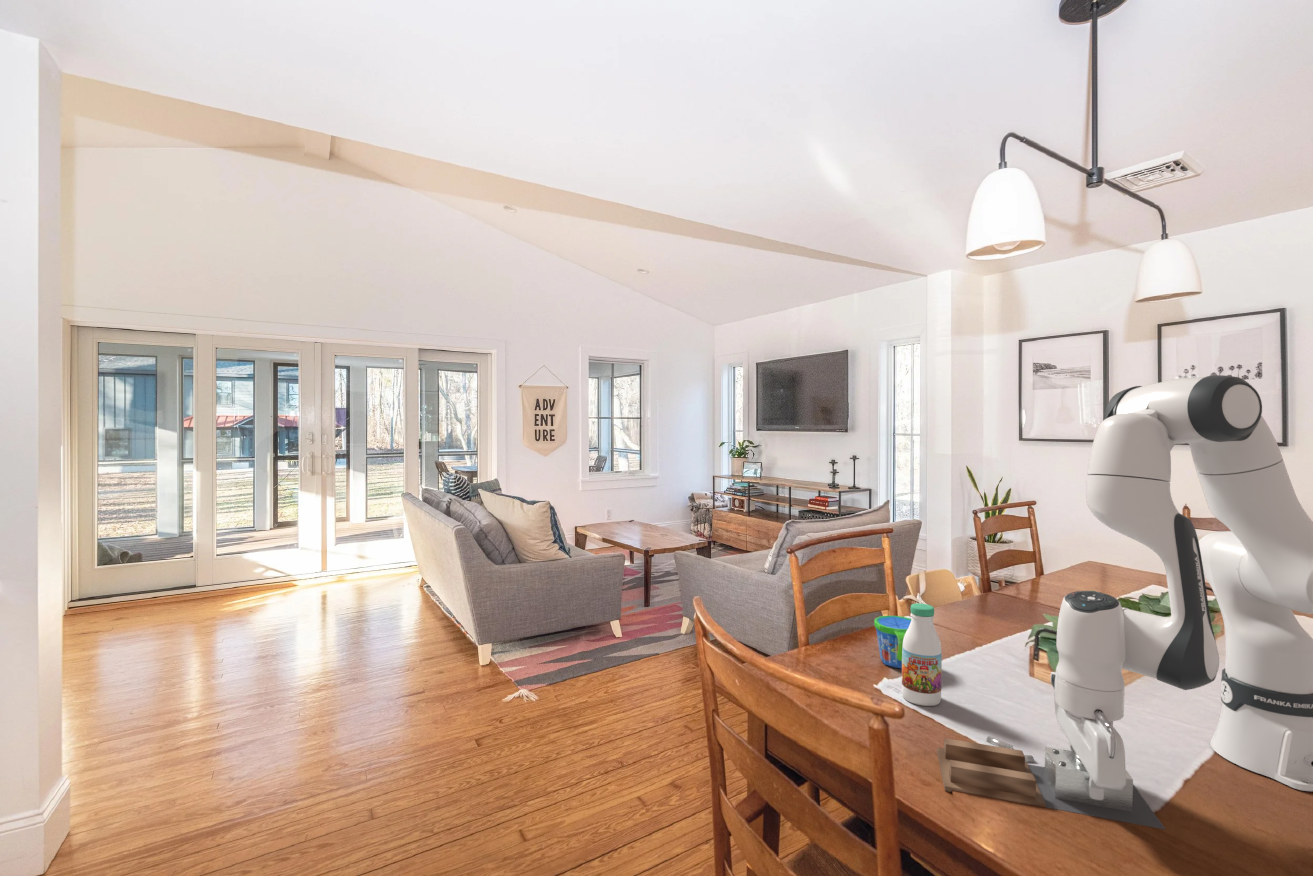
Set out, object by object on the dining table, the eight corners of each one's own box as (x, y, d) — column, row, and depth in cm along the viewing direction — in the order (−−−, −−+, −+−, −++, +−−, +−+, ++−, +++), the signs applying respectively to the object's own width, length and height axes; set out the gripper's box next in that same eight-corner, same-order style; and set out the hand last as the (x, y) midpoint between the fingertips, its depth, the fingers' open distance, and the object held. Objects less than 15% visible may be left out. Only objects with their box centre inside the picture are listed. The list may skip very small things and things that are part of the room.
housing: (1116, 788, 97) (1117, 752, 96) (1132, 812, 91) (1133, 773, 91) (1044, 776, 100) (1045, 741, 100) (1055, 798, 94) (1056, 760, 94)
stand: (1026, 766, 103) (1026, 747, 103) (1045, 809, 92) (1046, 788, 92) (936, 751, 108) (937, 733, 108) (944, 791, 97) (945, 770, 97)
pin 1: (1008, 749, 107) (1010, 755, 108) (1012, 744, 108) (1013, 749, 108) (985, 739, 110) (987, 745, 111) (989, 734, 111) (990, 740, 112)
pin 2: (1029, 758, 105) (1031, 753, 105) (1033, 766, 104) (1035, 761, 104) (1005, 757, 106) (1007, 752, 105) (1008, 764, 105) (1010, 759, 104)
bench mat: (1131, 784, 98) (1131, 781, 98) (1165, 832, 87) (1165, 829, 87) (1019, 765, 104) (1019, 763, 104) (1038, 808, 92) (1038, 805, 92)
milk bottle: (896, 690, 132) (897, 600, 131) (931, 690, 132) (933, 600, 131) (909, 707, 124) (911, 611, 124) (947, 707, 124) (949, 612, 123)
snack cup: (873, 648, 156) (873, 609, 155) (917, 653, 152) (918, 614, 152) (874, 673, 141) (875, 630, 140) (923, 679, 137) (924, 635, 137)
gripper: (1141, 733, 84) (1138, 830, 84) (1090, 673, 103) (1088, 752, 104) (1087, 726, 86) (1085, 820, 87) (1047, 668, 105) (1045, 746, 106)
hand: (1086, 782), depth 95 cm, fingers closed on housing, 6 cm apart
